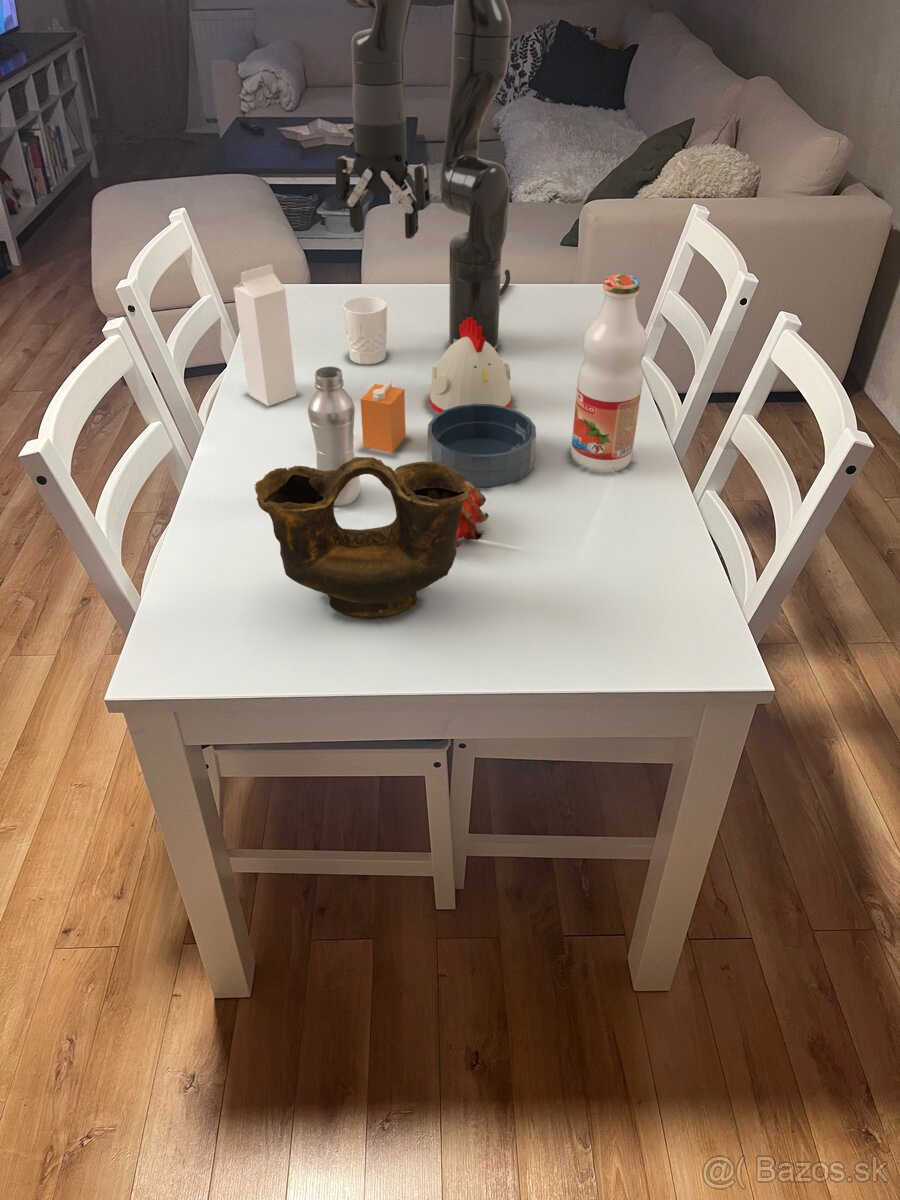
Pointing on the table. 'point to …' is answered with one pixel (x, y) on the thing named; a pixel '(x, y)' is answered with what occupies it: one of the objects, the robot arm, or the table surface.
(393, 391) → the carton
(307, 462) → the table surface
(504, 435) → the bowl
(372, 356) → the white cup
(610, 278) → the fruit juice
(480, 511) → the dragon fruit
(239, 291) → the milk
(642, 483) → the table surface
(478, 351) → the kitchen timer
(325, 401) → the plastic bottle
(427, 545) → the pottery vessel
